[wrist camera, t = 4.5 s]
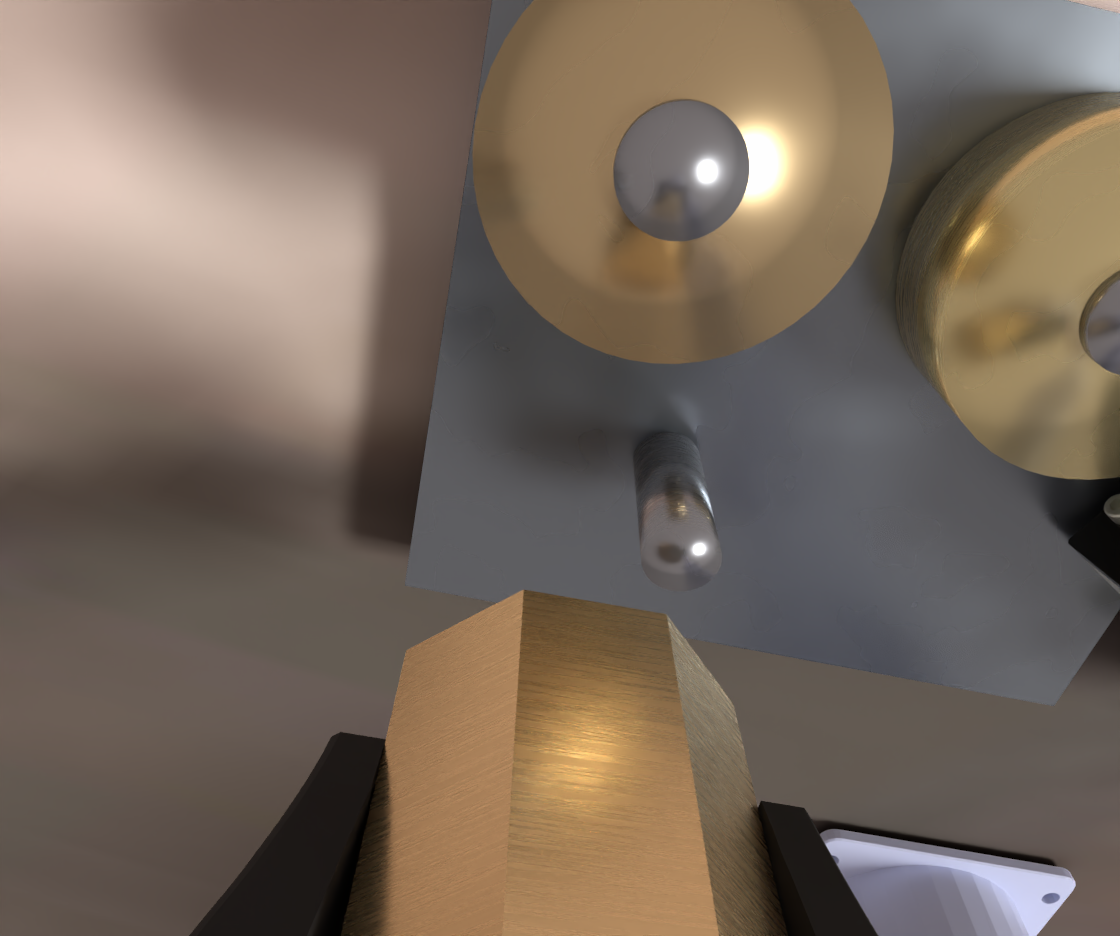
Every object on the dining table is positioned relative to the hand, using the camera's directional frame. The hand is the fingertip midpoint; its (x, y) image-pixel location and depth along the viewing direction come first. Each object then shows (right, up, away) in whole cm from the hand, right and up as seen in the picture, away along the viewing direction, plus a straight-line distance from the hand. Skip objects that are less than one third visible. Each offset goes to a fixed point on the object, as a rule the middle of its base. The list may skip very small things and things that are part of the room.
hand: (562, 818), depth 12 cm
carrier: (+6, +7, +7) cm, 11 cm away
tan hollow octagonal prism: (0, +1, +2) cm, 2 cm away
